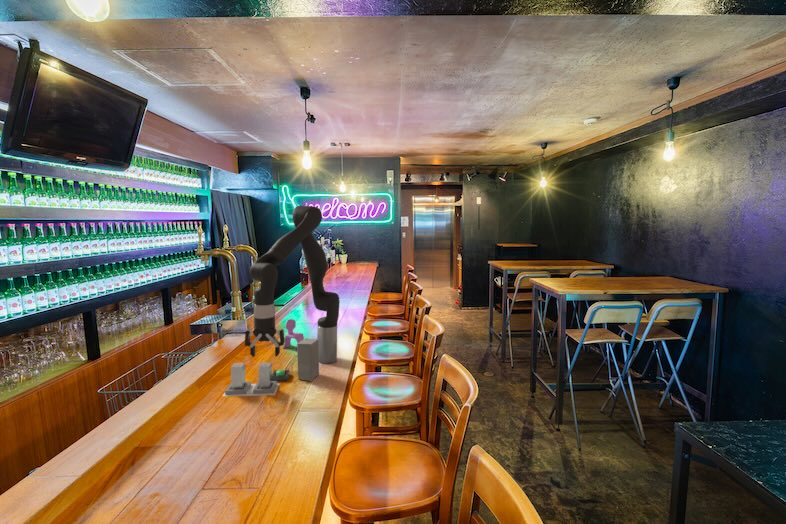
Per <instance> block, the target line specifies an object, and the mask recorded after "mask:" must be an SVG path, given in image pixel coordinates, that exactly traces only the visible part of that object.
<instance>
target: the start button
mask: <svg viewBox="0 0 786 524" xmlns="http://www.w3.org/2000/svg"><path fill="white" fill-rule="evenodd" d="M276 370H277V369H276ZM285 370H286V369H282V368H281V369H278V370H277V371H276V376H278V375H285Z"/></svg>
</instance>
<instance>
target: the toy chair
mask: <svg viewBox="0 0 786 524" xmlns="http://www.w3.org/2000/svg"><path fill="white" fill-rule="evenodd" d="M296 324H297V322H296V320H295V319H293V318H288V319H287V320H286V322H285V325H284V326H285V329H286V330H287V334H284V339H285V343H284V345H283V347H282V349H283V350H284V349H286V348H288V347H289V346H291V343H292V342H291V339H294V340H296V343H299V342H301V340H304V339H305V336H304V333H302V332H295V331H294V329H296ZM295 352H297V348H296V350H295Z"/></svg>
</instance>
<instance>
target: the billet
mask: <svg viewBox="0 0 786 524" xmlns="http://www.w3.org/2000/svg"><path fill="white" fill-rule="evenodd" d="M272 364H273V363H272V361H269V362H268V361H267V362H260V363H259V366H258V381H259V389H271V387H272V374H273V372H272V370H273V368H272V366H273V365H272Z"/></svg>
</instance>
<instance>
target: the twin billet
mask: <svg viewBox="0 0 786 524" xmlns="http://www.w3.org/2000/svg"><path fill="white" fill-rule="evenodd" d="M230 380H231V381H230V383H231V389H244V388H245V382H246V362H233V364H232V365H231V366H230Z"/></svg>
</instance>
